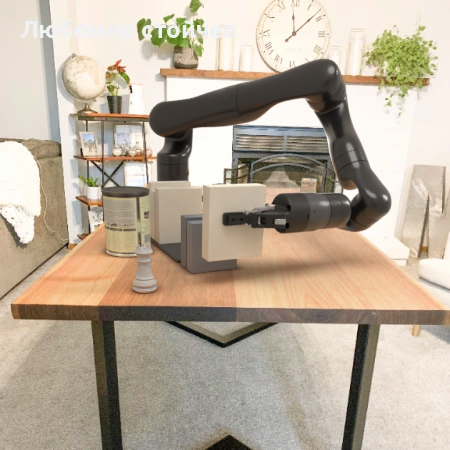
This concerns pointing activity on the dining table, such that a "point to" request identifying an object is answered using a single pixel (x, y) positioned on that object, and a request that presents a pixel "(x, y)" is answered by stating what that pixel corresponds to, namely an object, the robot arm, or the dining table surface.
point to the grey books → (198, 247)
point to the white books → (171, 213)
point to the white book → (236, 234)
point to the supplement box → (308, 185)
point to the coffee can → (126, 219)
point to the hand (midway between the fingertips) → (219, 217)
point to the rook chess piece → (144, 270)
